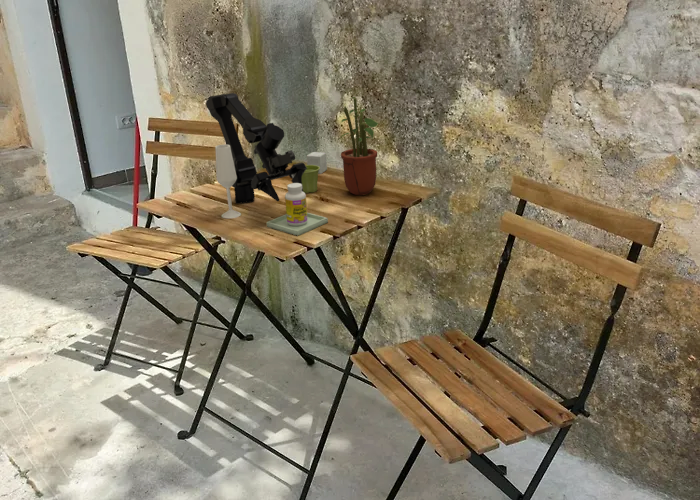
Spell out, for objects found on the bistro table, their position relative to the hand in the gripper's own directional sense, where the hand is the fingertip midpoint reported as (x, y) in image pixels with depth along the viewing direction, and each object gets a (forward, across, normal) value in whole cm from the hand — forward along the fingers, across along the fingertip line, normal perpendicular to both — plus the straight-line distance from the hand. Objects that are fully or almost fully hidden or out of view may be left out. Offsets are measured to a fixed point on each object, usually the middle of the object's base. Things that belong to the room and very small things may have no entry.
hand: (290, 197), depth 211 cm
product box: (-22, +40, +36) cm, 58 cm away
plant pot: (-10, +23, +23) cm, 34 cm away
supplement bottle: (+8, 0, +4) cm, 9 cm away
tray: (+8, 0, +4) cm, 9 cm away
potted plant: (0, +36, +13) cm, 38 cm away
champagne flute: (-8, -11, +22) cm, 26 cm away
